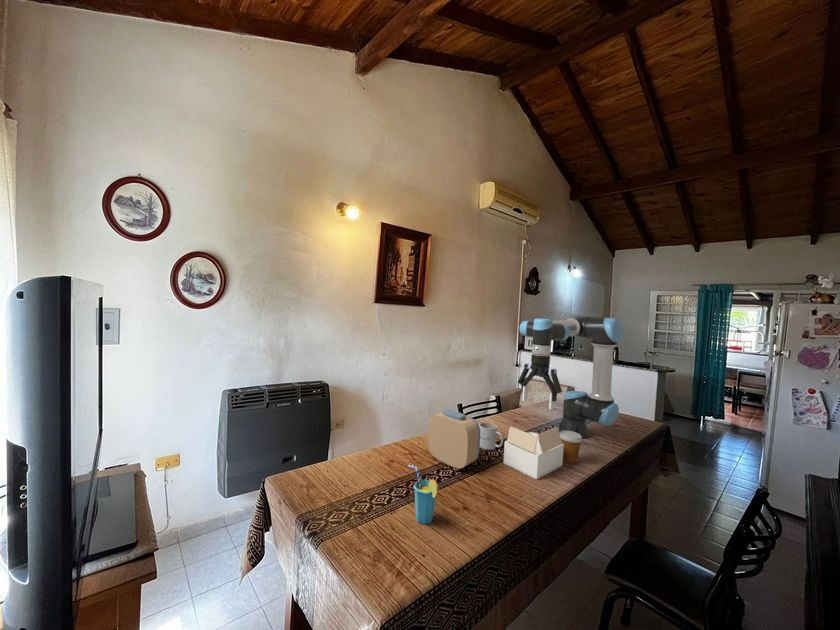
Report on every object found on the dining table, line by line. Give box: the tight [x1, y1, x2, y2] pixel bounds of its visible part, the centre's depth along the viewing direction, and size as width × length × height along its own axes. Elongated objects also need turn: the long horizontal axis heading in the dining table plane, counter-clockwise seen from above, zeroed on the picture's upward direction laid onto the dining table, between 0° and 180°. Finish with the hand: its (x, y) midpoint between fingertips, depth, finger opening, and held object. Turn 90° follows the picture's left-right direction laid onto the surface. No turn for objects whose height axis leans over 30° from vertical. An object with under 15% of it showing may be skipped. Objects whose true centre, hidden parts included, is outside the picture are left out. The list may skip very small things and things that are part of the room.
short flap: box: [506, 425, 538, 453], centre depth 138 cm, size 6×13×1 cm
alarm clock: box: [427, 409, 481, 471], centre depth 142 cm, size 21×10×22 cm, turn 47°
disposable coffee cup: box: [559, 431, 583, 465], centre depth 150 cm, size 10×10×12 cm
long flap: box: [537, 426, 562, 453], centre depth 138 cm, size 15×7×1 cm
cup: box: [407, 464, 439, 525], centre depth 105 cm, size 14×8×15 cm, turn 46°
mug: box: [478, 421, 504, 451], centre depth 160 cm, size 12×9×10 cm
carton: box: [503, 431, 564, 481], centre depth 144 cm, size 21×17×10 cm
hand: (537, 404), depth 143 cm, fingers open, 12 cm apart
